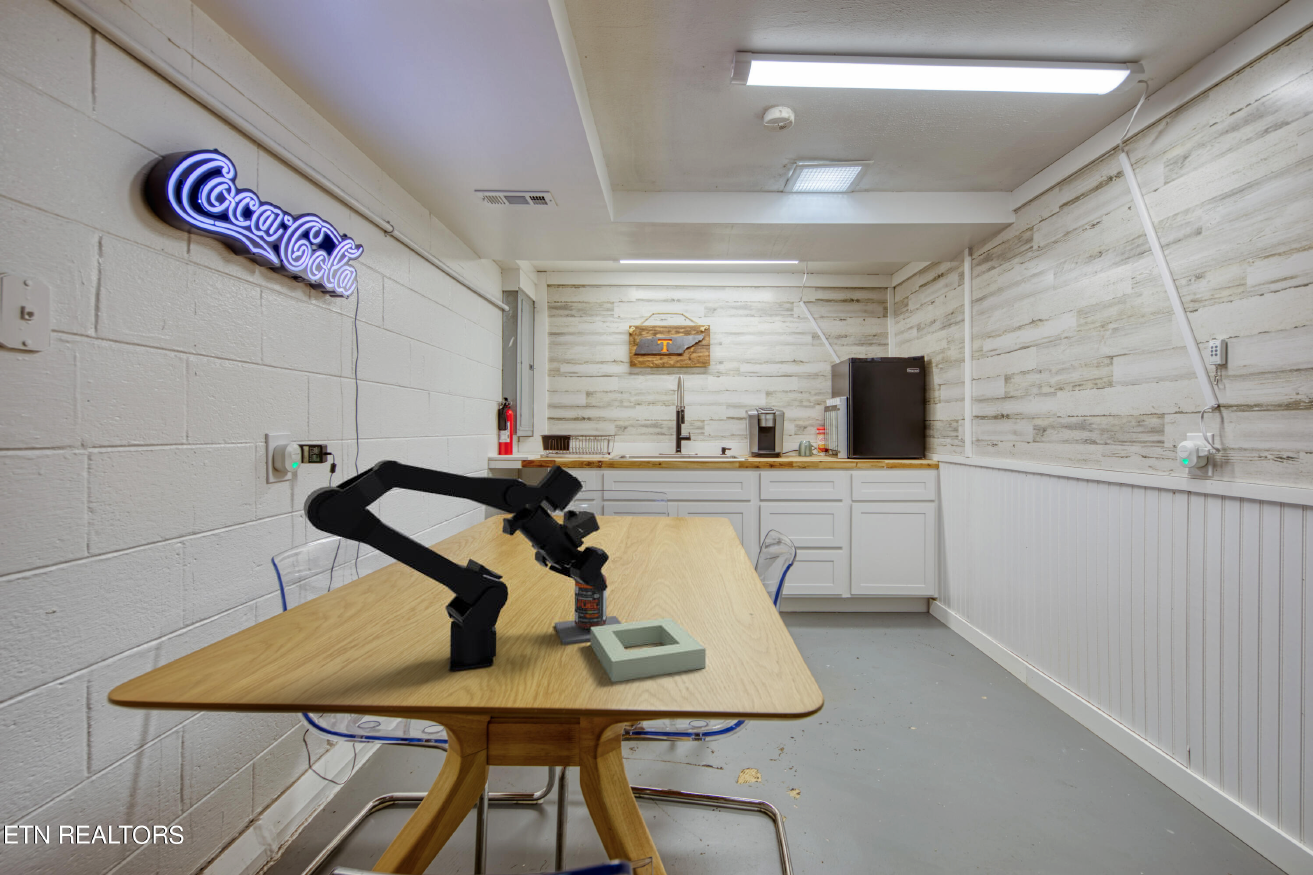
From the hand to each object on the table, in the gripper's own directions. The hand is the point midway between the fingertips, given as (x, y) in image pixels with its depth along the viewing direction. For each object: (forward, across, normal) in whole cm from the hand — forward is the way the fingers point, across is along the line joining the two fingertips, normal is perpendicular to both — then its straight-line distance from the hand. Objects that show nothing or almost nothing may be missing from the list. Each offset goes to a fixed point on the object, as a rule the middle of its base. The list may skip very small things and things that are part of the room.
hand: (596, 585), depth 96 cm
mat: (+5, 0, +7) cm, 8 cm away
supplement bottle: (+4, 0, +6) cm, 7 cm away
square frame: (+6, -15, +6) cm, 17 cm away
